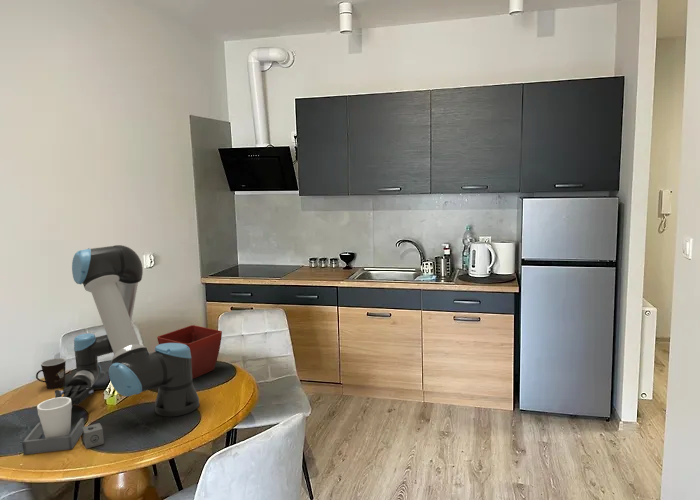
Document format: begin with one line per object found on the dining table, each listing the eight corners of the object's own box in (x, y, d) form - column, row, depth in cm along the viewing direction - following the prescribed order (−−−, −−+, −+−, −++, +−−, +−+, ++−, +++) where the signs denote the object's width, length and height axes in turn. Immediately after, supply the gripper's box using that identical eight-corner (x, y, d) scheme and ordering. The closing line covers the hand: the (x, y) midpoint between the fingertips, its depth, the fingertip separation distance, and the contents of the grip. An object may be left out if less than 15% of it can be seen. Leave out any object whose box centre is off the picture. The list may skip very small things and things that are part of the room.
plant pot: (190, 384, 210) (187, 343, 208) (159, 375, 221) (155, 336, 218) (225, 369, 226) (223, 331, 224) (195, 361, 236) (192, 324, 234)
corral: (84, 429, 175) (83, 418, 174) (72, 449, 162) (70, 436, 162) (39, 434, 172) (38, 422, 172) (23, 454, 160) (22, 442, 159)
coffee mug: (64, 379, 218) (61, 356, 217) (71, 385, 212) (68, 361, 211) (32, 388, 210) (29, 364, 209) (38, 394, 204) (35, 369, 203)
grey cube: (83, 442, 167) (82, 427, 166) (101, 437, 169) (99, 422, 169) (86, 448, 163) (84, 433, 162) (104, 443, 165) (102, 428, 165)
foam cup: (81, 439, 168) (77, 400, 166) (52, 453, 160) (47, 412, 159) (64, 432, 173) (60, 394, 171) (35, 445, 166) (30, 405, 164)
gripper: (100, 392, 198) (81, 420, 175) (62, 395, 196) (38, 425, 173) (98, 372, 197) (79, 399, 174) (60, 376, 195) (36, 403, 172)
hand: (59, 411), depth 174 cm, fingers closed
